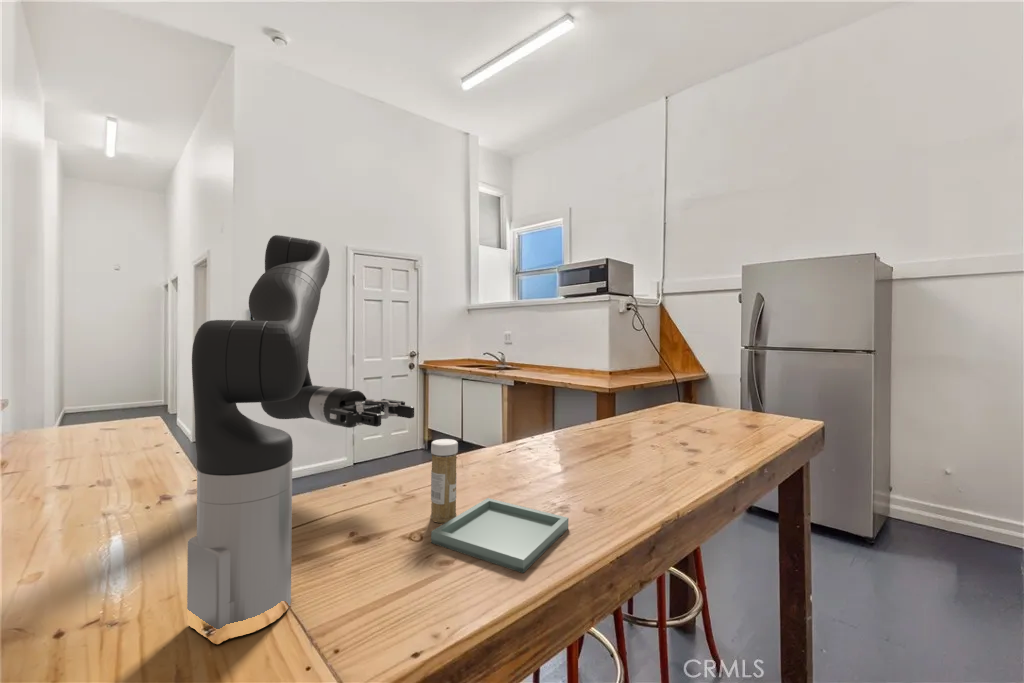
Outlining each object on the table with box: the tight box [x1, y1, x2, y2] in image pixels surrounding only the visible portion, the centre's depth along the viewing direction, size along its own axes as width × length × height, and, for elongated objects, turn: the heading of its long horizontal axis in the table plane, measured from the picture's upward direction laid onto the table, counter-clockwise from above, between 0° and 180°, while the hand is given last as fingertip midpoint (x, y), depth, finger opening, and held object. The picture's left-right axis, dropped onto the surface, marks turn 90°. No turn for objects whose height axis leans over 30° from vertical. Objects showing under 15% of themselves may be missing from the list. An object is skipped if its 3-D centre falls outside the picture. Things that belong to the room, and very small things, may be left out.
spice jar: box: [430, 438, 459, 524], centre depth 76 cm, size 5×5×14 cm
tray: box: [430, 497, 569, 574], centre depth 71 cm, size 16×16×2 cm
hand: (397, 416), depth 82 cm, fingers open, 8 cm apart
